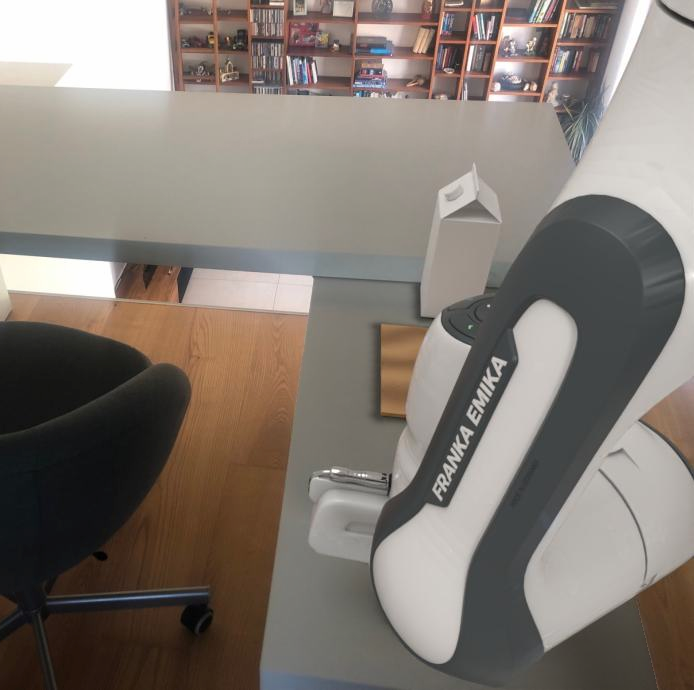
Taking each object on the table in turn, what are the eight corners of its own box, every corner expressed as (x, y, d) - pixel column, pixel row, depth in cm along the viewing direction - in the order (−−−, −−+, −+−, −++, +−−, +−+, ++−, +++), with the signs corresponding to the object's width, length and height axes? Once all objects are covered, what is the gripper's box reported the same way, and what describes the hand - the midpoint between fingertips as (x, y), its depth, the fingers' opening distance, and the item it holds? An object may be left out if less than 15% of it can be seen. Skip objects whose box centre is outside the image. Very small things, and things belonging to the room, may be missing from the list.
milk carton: (472, 291, 96) (504, 164, 84) (476, 323, 91) (510, 193, 78) (420, 286, 97) (443, 160, 85) (420, 318, 92) (446, 188, 79)
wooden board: (527, 430, 76) (528, 426, 76) (380, 415, 79) (381, 411, 78) (507, 337, 88) (509, 334, 88) (380, 327, 91) (381, 323, 90)
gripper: (304, 497, 50) (296, 598, 59) (610, 549, 46) (552, 647, 55) (315, 433, 54) (307, 535, 63) (594, 475, 51) (543, 577, 60)
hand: (423, 588), depth 59 cm, fingers closed on supplement bottle, 5 cm apart
